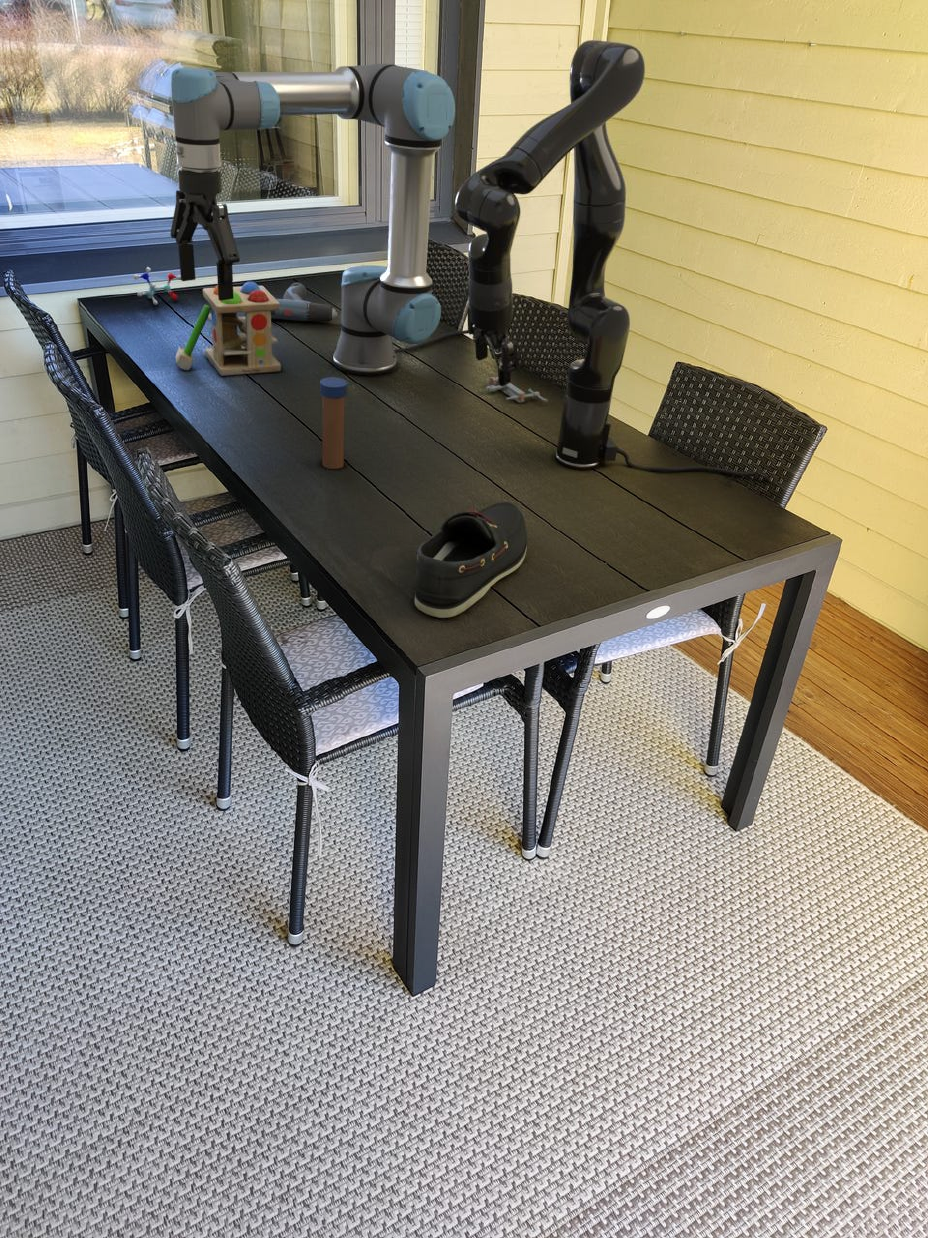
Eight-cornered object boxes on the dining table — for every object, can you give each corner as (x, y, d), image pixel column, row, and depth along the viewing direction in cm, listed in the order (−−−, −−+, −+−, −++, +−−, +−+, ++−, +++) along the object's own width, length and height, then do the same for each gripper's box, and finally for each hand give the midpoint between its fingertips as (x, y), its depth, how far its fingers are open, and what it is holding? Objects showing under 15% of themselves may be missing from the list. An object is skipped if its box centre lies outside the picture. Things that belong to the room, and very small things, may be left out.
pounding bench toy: (183, 379, 220) (176, 299, 210) (169, 357, 231) (162, 280, 221) (282, 371, 230) (280, 294, 220) (264, 350, 240) (262, 276, 230)
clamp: (478, 378, 231) (514, 373, 235) (477, 387, 232) (513, 382, 236) (512, 401, 220) (549, 396, 225) (511, 411, 221) (548, 405, 226)
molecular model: (165, 296, 257) (152, 258, 255) (138, 309, 260) (124, 272, 259) (191, 298, 267) (178, 262, 266) (164, 311, 271) (151, 276, 270)
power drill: (344, 304, 276) (335, 327, 259) (277, 298, 275) (264, 321, 258) (344, 285, 273) (335, 306, 256) (277, 279, 272) (264, 300, 255)
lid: (335, 386, 187) (335, 375, 185) (352, 394, 184) (352, 383, 183) (314, 391, 183) (314, 380, 182) (332, 400, 181) (332, 389, 179)
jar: (334, 457, 194) (335, 378, 185) (348, 465, 192) (350, 385, 183) (317, 463, 192) (317, 383, 182) (331, 470, 189) (332, 390, 180)
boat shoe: (553, 546, 173) (559, 493, 167) (451, 625, 149) (454, 565, 143) (491, 526, 178) (495, 473, 173) (382, 598, 154) (383, 540, 149)
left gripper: (145, 155, 179) (155, 274, 191) (217, 183, 164) (224, 310, 176) (182, 153, 183) (190, 269, 195) (256, 180, 169) (260, 304, 181)
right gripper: (530, 310, 165) (530, 385, 178) (489, 267, 173) (491, 342, 186) (491, 325, 164) (494, 400, 177) (452, 281, 171) (457, 356, 184)
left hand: (206, 289), depth 186 cm, fingers open, 13 cm apart
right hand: (493, 370), depth 181 cm, fingers open, 8 cm apart
